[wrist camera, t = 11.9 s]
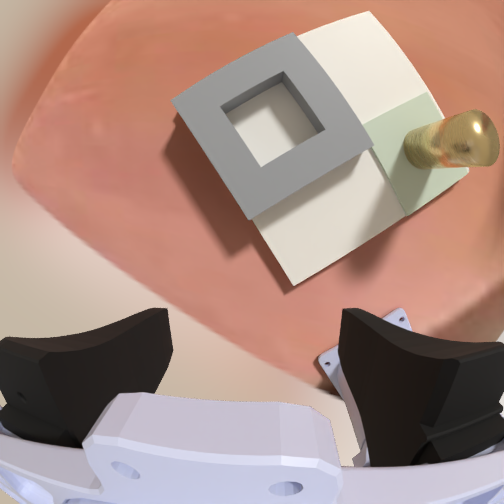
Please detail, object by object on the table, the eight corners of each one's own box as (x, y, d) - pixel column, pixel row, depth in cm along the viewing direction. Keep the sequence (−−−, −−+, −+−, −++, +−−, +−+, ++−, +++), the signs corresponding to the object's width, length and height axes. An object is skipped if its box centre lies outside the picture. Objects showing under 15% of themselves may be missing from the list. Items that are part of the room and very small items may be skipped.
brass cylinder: (434, 131, 16) (495, 115, 10) (438, 170, 17) (501, 169, 10) (401, 126, 16) (458, 104, 10) (405, 168, 17) (466, 163, 10)
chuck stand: (462, 171, 18) (484, 170, 15) (292, 281, 21) (296, 296, 18) (365, 16, 16) (376, -2, 13) (180, 107, 18) (166, 94, 15)
